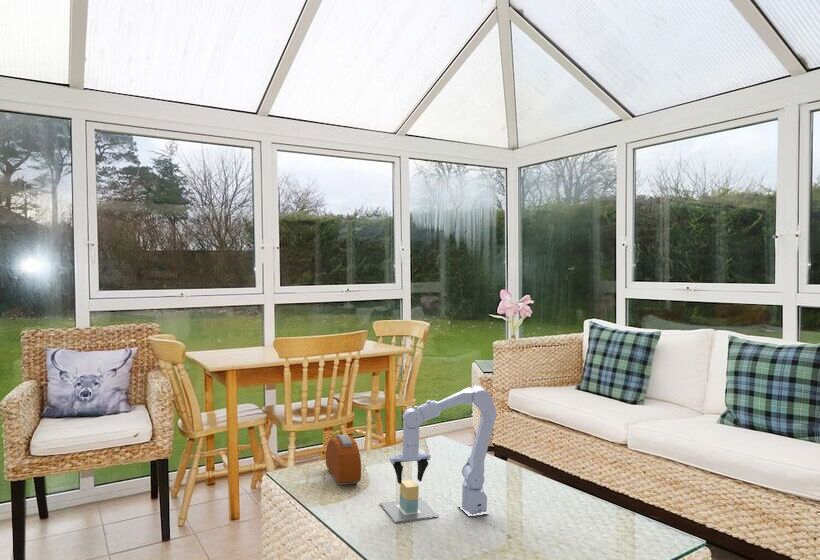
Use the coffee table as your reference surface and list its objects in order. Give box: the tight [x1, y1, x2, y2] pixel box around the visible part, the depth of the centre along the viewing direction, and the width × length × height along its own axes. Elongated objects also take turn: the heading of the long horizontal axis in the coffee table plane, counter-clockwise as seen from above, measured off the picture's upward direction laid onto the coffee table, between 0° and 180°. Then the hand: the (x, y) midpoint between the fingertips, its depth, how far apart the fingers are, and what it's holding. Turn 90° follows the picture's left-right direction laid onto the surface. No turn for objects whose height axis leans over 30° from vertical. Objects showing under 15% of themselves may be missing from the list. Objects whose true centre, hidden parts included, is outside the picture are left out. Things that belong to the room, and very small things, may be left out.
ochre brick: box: [399, 479, 420, 500], centre depth 201 cm, size 6×4×4 cm
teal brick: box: [399, 493, 418, 513], centre depth 202 cm, size 6×4×4 cm
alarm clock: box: [325, 434, 362, 486], centre depth 232 cm, size 23×9×17 cm, turn 22°
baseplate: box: [379, 497, 439, 524], centre depth 202 cm, size 16×16×1 cm
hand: (409, 481), depth 201 cm, fingers open, 7 cm apart
